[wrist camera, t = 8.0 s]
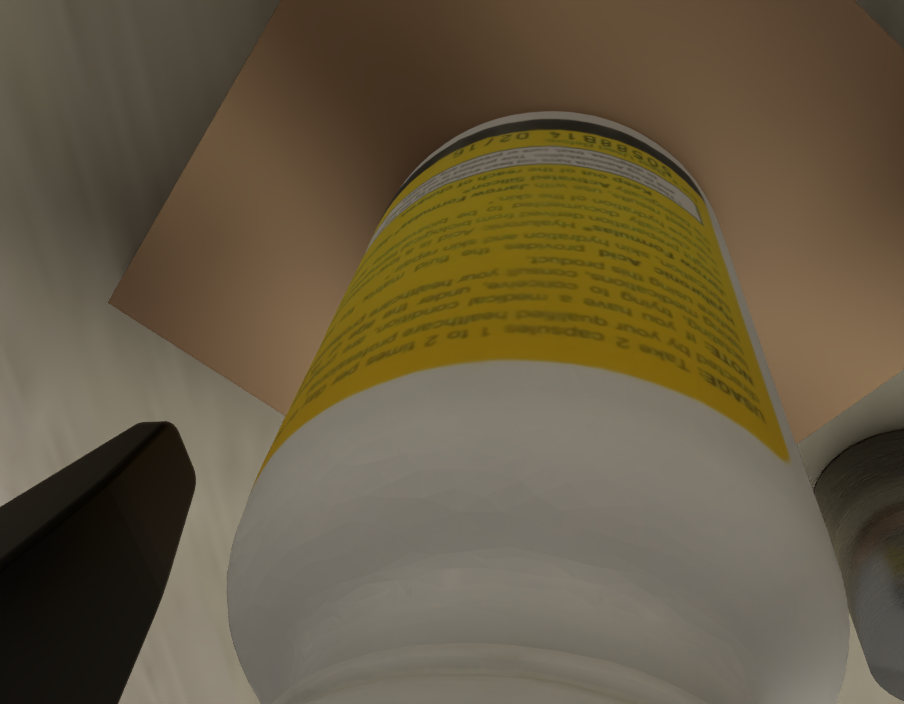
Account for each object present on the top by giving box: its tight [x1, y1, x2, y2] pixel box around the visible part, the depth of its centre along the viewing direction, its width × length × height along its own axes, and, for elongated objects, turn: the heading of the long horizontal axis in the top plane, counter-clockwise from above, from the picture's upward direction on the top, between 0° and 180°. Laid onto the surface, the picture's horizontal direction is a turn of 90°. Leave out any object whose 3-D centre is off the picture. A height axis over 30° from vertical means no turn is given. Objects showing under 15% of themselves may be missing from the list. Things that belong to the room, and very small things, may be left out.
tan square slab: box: [108, 0, 904, 444], centre depth 13 cm, size 11×11×1 cm
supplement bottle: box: [227, 111, 850, 704], centre depth 9 cm, size 5×5×10 cm
